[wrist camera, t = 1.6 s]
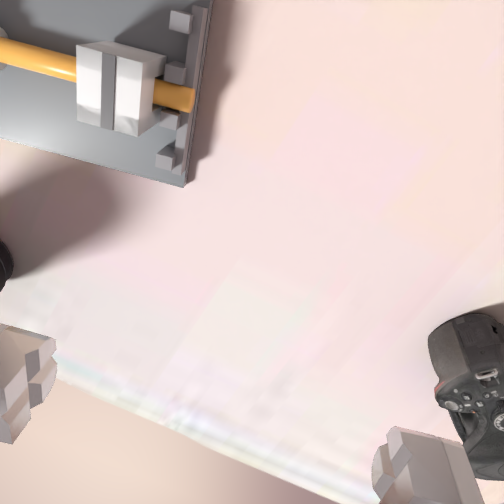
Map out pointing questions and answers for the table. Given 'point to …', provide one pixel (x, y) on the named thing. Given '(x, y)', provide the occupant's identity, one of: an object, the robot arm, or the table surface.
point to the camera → (473, 387)
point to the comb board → (58, 97)
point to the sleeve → (117, 86)
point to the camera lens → (5, 265)
